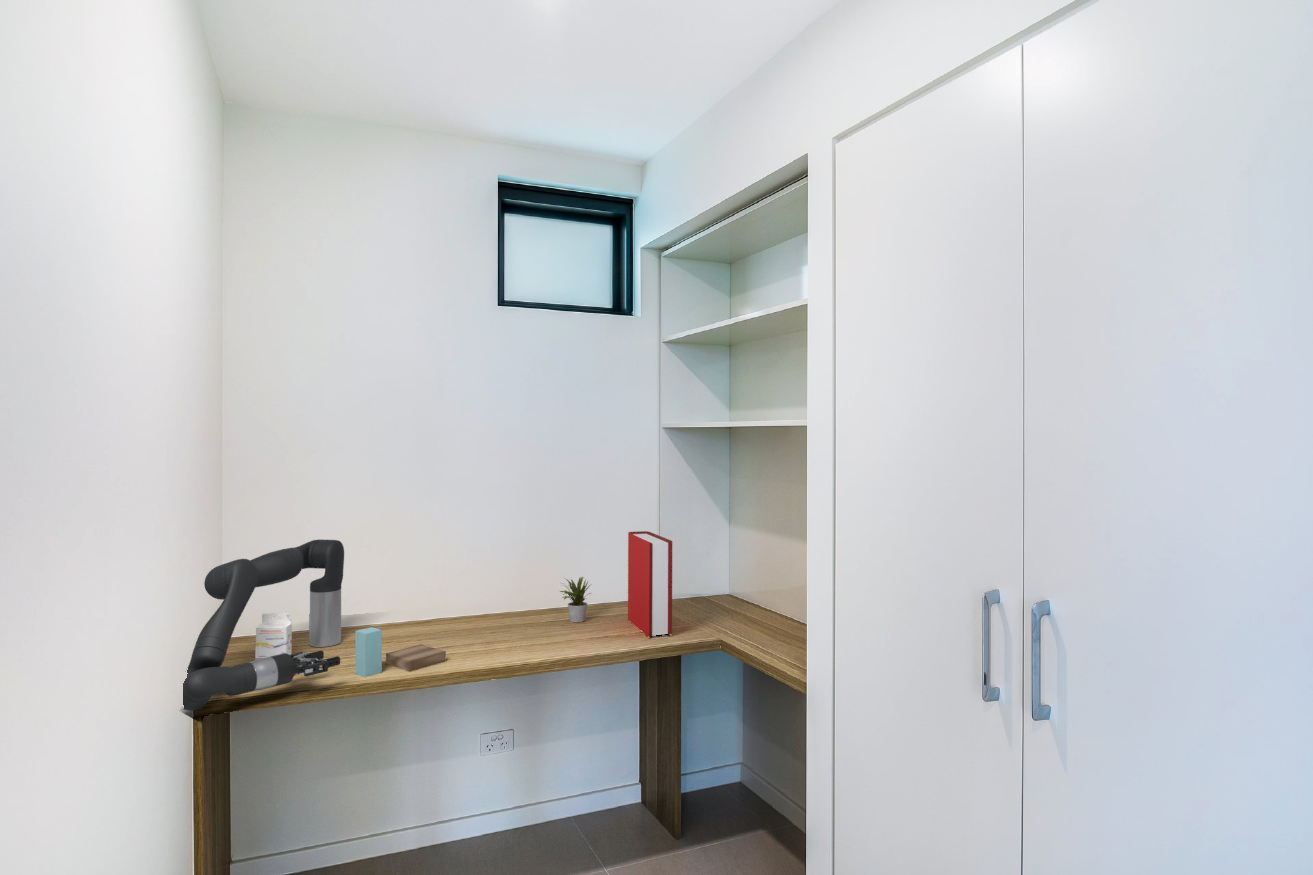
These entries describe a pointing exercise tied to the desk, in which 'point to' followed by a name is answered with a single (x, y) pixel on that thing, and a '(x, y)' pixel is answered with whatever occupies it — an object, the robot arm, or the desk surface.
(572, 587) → the house plant
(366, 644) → the tall teal brick
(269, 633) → the ink cartridge box
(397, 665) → the walnut block
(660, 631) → the book
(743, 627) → the desk surface
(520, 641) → the desk surface
